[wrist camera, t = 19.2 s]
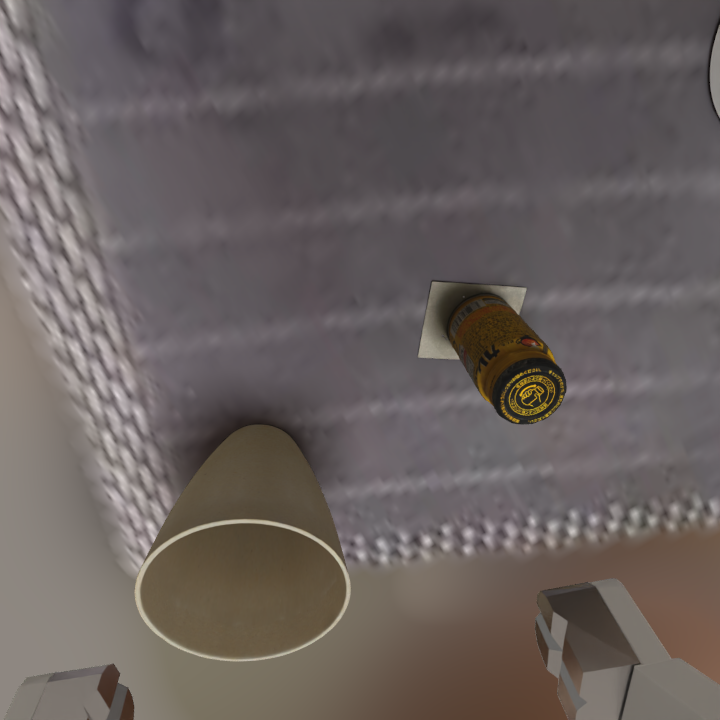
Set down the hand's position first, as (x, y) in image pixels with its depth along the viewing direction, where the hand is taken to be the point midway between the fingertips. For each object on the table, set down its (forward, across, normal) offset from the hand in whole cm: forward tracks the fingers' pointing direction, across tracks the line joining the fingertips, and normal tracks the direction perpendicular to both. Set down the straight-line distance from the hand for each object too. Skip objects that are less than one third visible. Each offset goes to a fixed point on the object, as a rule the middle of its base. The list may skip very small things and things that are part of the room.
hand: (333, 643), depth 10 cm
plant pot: (+35, +8, +22) cm, 42 cm away
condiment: (+35, -13, +11) cm, 39 cm away
